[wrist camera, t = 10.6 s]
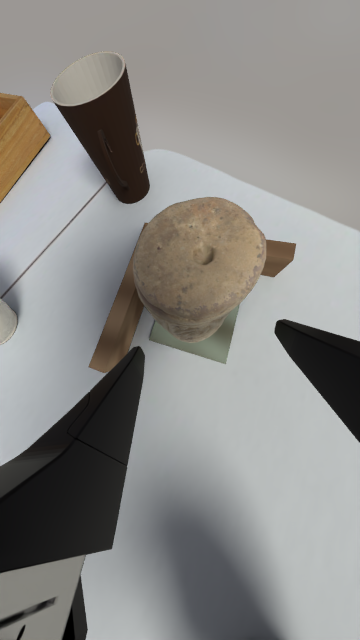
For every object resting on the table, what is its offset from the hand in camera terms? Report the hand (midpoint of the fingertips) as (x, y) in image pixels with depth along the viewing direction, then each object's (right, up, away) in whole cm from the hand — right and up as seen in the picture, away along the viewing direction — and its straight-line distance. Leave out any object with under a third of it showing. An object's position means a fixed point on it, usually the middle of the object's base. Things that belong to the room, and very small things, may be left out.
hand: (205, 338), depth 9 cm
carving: (0, +2, +9) cm, 9 cm away
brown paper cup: (-11, +23, +15) cm, 30 cm away
